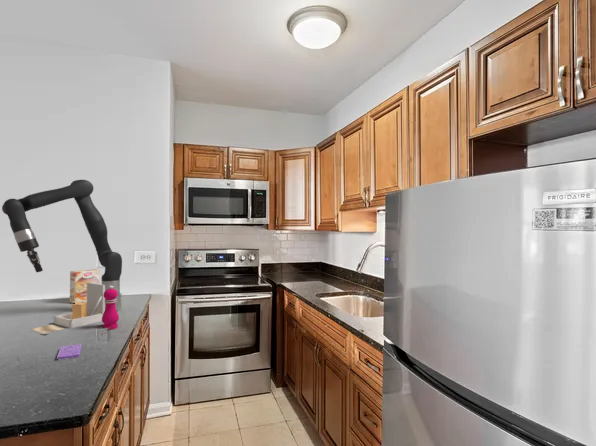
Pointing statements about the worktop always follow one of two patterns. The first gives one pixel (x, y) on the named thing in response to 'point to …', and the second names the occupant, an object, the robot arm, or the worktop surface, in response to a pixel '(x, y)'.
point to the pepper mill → (110, 309)
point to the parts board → (47, 329)
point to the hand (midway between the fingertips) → (39, 271)
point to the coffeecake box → (81, 284)
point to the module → (79, 310)
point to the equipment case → (93, 308)
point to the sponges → (69, 351)
